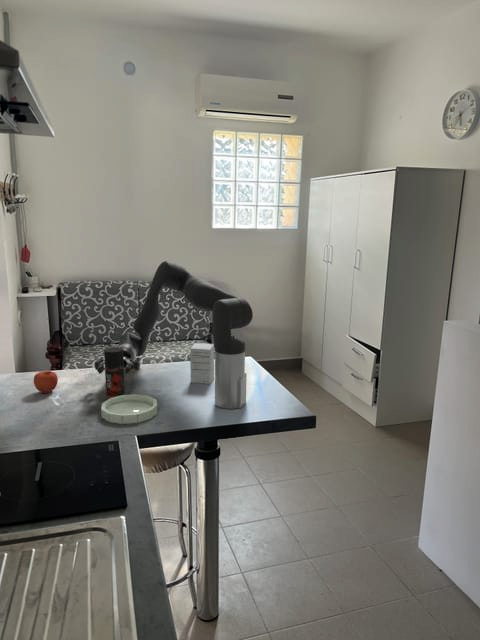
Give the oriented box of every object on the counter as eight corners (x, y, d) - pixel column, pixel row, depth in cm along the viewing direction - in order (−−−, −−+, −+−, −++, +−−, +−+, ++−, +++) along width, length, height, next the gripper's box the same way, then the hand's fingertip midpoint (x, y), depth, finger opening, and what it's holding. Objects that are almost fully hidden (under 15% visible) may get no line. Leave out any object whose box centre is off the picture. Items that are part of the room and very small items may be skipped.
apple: (36, 389, 162) (34, 366, 160) (59, 387, 164) (57, 364, 162) (33, 397, 155) (31, 373, 153) (57, 395, 157) (56, 371, 155)
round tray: (166, 405, 150) (165, 398, 149) (141, 426, 135) (140, 418, 134) (120, 399, 154) (119, 392, 154) (90, 419, 139) (90, 411, 139)
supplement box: (194, 376, 177) (194, 342, 175) (214, 377, 176) (214, 343, 174) (189, 382, 170) (189, 348, 168) (210, 384, 169) (210, 349, 167)
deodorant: (127, 391, 162) (125, 347, 158) (121, 397, 156) (119, 352, 153) (110, 390, 162) (108, 346, 159) (103, 396, 156) (101, 351, 153)
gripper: (103, 345, 170) (90, 359, 154) (143, 346, 171) (135, 359, 155) (104, 366, 172) (91, 381, 156) (144, 366, 172) (135, 382, 156)
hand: (113, 370), depth 155 cm, fingers open, 8 cm apart
